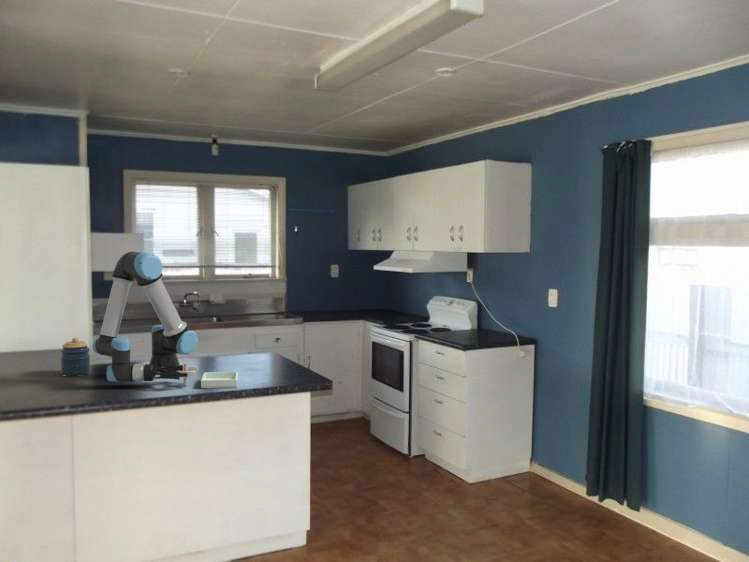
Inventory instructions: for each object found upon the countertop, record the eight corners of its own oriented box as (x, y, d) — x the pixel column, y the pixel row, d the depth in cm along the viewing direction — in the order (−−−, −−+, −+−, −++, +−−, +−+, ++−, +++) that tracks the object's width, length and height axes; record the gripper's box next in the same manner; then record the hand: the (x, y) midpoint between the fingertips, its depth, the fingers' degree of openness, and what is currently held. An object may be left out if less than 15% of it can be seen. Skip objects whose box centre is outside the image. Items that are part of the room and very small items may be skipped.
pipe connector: (184, 389, 284) (184, 366, 283) (169, 385, 289) (169, 363, 288) (201, 384, 292) (201, 362, 291) (186, 381, 297) (186, 359, 296)
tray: (200, 388, 286) (200, 380, 286) (204, 380, 301) (204, 372, 301) (236, 388, 289) (236, 379, 288) (238, 379, 304) (238, 371, 304)
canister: (54, 375, 303) (53, 338, 302) (75, 369, 315) (75, 334, 314) (75, 378, 299) (75, 341, 297) (96, 372, 311) (96, 336, 309)
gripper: (148, 375, 298) (198, 374, 302) (139, 387, 277) (193, 386, 281) (148, 359, 297) (198, 358, 301) (139, 370, 276) (193, 369, 280)
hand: (196, 371), depth 291 cm, fingers closed on pipe connector, 9 cm apart
